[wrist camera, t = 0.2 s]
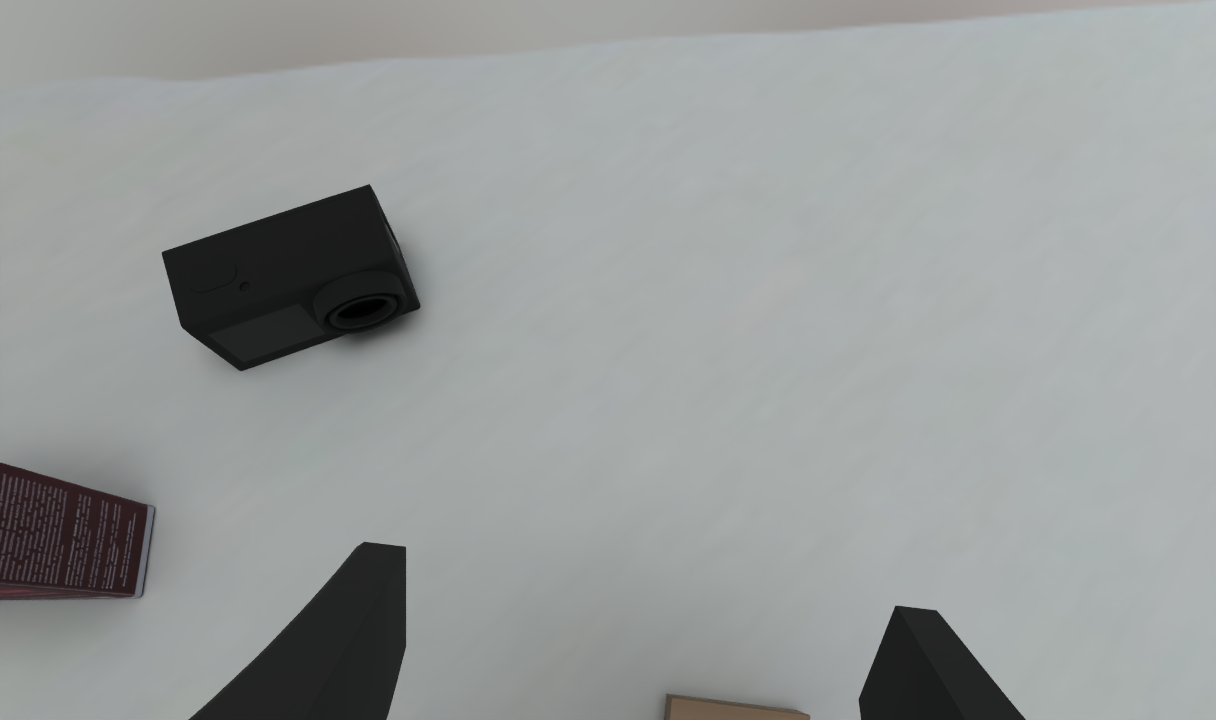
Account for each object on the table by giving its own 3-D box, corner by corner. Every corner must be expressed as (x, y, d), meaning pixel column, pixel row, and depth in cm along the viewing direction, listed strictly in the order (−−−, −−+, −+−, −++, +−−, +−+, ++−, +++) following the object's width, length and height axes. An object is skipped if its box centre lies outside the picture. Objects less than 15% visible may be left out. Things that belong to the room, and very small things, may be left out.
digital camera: (243, 393, 45) (184, 352, 38) (218, 304, 46) (157, 251, 40) (428, 327, 46) (403, 277, 40) (398, 243, 48) (369, 182, 41)
